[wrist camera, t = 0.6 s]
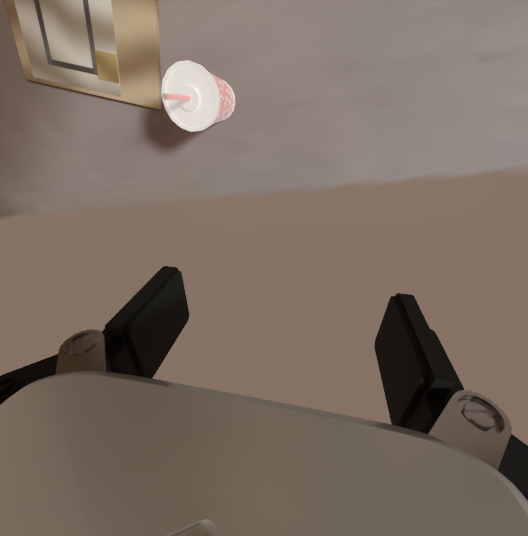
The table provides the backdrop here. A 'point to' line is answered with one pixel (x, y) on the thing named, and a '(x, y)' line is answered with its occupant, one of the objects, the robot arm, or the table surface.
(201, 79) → the beverage cup
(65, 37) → the board
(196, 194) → the table surface
